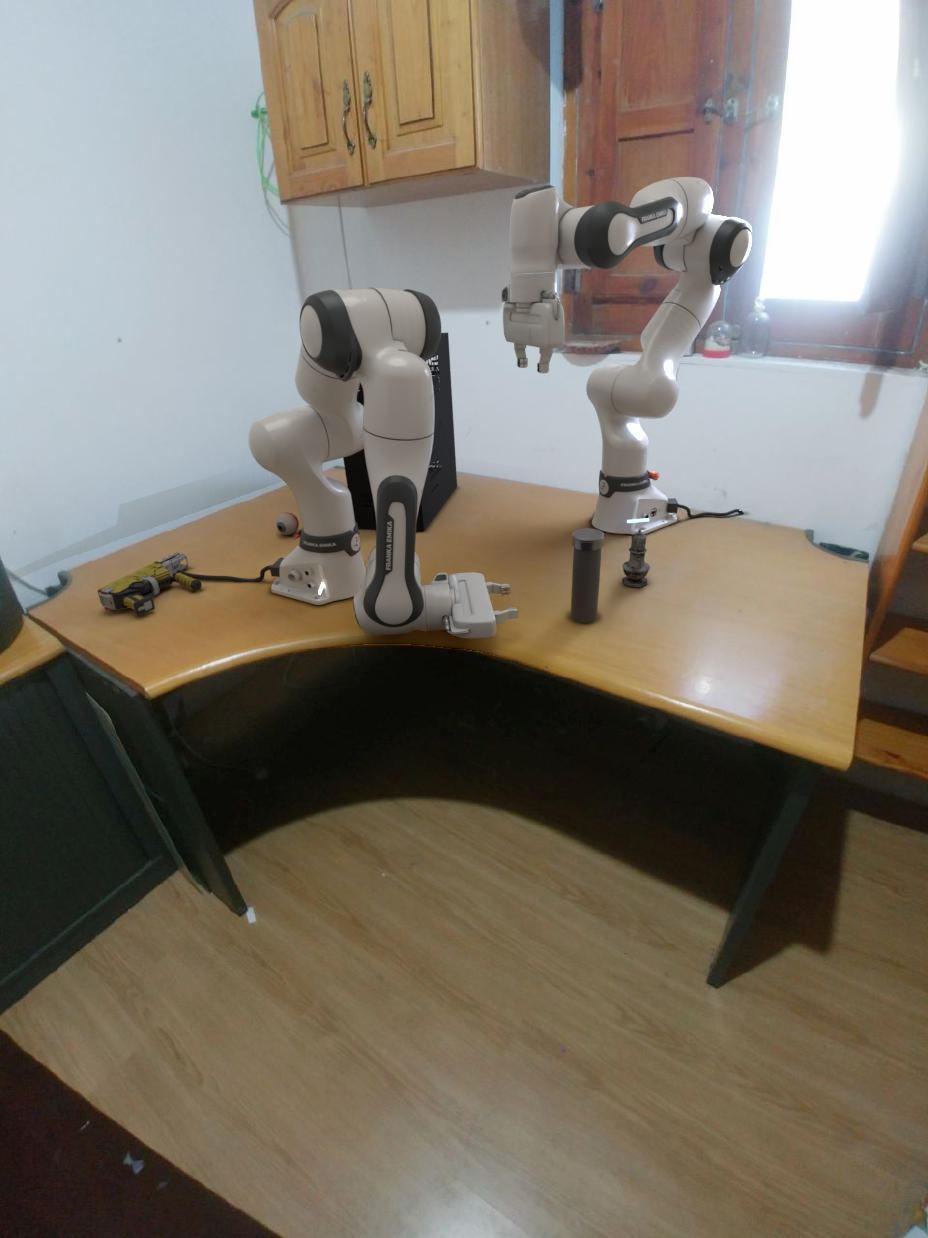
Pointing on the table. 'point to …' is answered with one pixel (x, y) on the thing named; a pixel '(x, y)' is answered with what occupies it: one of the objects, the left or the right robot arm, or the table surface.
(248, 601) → the table surface
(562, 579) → the table surface
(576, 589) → the grey tall cylinder
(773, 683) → the table surface
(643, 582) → the dark grey chess piece
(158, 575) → the toy gun
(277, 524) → the eyeball
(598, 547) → the lid
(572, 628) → the table surface
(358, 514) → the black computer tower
